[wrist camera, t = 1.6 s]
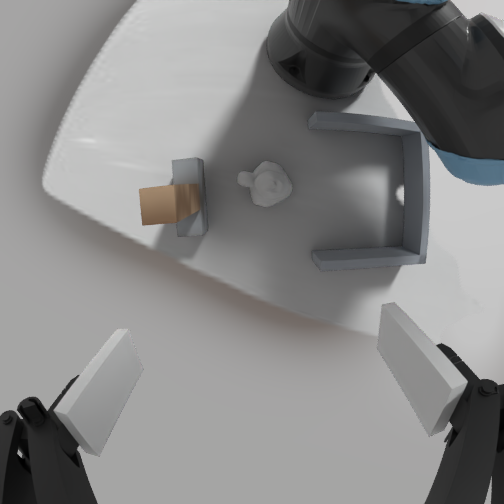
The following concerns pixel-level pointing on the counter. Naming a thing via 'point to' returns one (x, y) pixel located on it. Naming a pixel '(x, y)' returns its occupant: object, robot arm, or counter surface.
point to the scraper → (178, 199)
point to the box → (413, 194)
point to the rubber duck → (266, 184)
